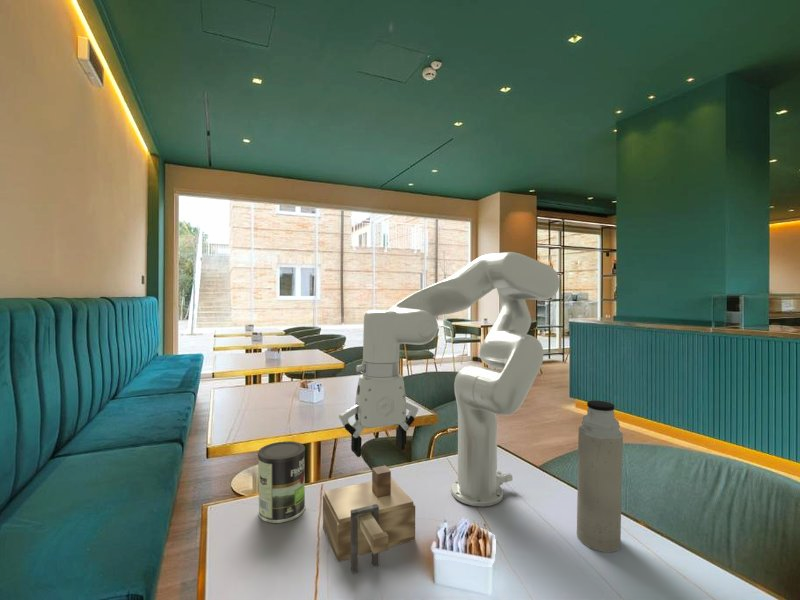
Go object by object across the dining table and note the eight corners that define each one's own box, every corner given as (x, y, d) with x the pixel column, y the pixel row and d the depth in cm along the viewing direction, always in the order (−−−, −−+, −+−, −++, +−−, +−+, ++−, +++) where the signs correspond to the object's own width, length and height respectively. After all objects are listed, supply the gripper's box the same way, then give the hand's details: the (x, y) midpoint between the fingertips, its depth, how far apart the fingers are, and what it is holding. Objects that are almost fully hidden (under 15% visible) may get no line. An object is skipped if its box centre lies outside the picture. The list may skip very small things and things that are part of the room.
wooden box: (391, 509, 92) (392, 462, 92) (424, 551, 78) (424, 495, 77) (322, 526, 86) (322, 475, 85) (344, 576, 71) (344, 515, 71)
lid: (391, 485, 92) (391, 455, 91) (413, 510, 81) (413, 477, 81) (324, 499, 85) (324, 467, 85) (339, 529, 75) (339, 493, 75)
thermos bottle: (602, 525, 86) (605, 396, 85) (629, 550, 78) (633, 407, 77) (568, 529, 85) (571, 398, 84) (592, 554, 77) (595, 409, 76)
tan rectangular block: (369, 521, 74) (369, 508, 74) (388, 549, 66) (388, 535, 66) (356, 524, 73) (356, 511, 73) (373, 554, 65) (373, 539, 65)
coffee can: (312, 501, 96) (312, 442, 95) (292, 526, 86) (292, 461, 85) (273, 496, 98) (272, 439, 97) (248, 520, 88) (248, 456, 87)
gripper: (345, 375, 76) (344, 464, 77) (426, 370, 84) (424, 451, 84) (335, 368, 83) (333, 450, 84) (410, 363, 90) (408, 439, 91)
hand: (379, 451), depth 84 cm, fingers open, 9 cm apart
